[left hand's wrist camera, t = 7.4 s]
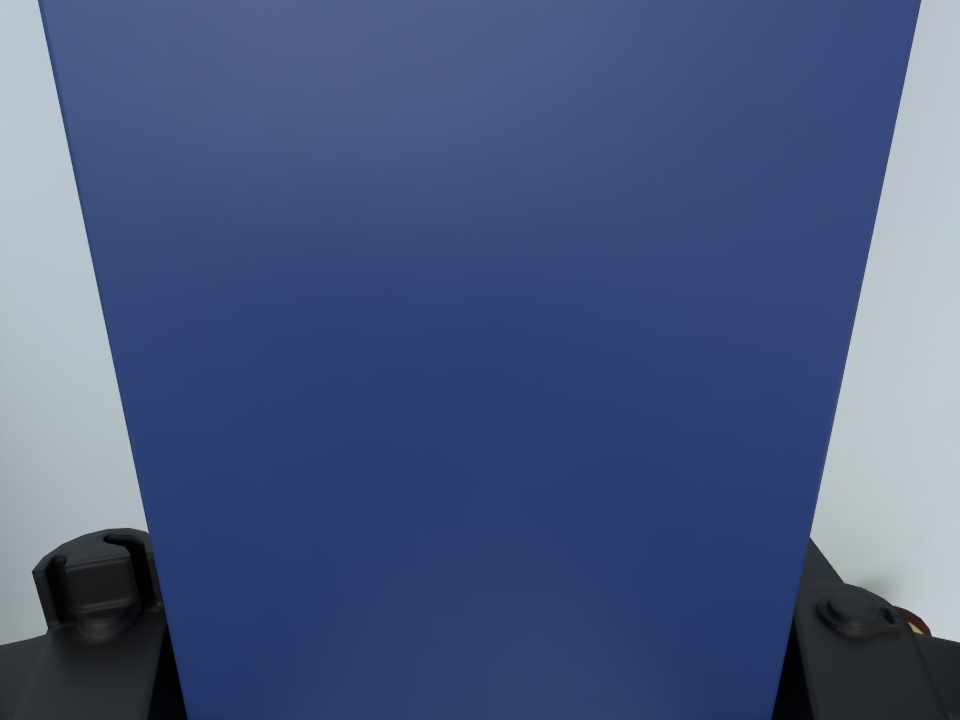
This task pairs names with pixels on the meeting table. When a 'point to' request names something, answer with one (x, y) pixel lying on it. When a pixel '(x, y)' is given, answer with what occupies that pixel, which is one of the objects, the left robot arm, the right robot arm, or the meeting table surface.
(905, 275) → the meeting table surface
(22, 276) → the meeting table surface
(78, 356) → the meeting table surface
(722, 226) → the bar
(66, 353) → the meeting table surface
